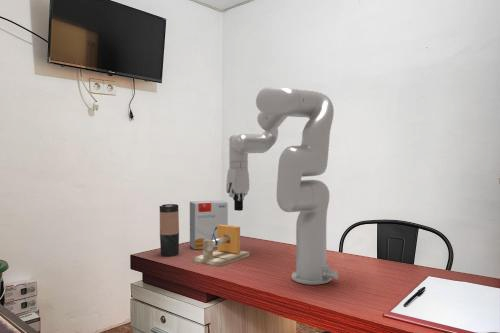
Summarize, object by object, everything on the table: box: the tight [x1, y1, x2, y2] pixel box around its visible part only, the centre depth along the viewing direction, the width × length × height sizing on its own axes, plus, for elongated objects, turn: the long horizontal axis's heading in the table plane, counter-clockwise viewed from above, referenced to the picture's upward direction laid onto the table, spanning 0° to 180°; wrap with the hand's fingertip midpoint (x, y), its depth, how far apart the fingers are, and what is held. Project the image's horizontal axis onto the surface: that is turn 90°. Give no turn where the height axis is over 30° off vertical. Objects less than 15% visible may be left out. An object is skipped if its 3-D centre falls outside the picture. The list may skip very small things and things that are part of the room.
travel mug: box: [159, 203, 180, 257], centre depth 157 cm, size 8×8×20 cm
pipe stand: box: [193, 239, 251, 267], centre depth 150 cm, size 13×18×8 cm
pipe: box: [213, 235, 230, 246], centre depth 150 cm, size 3×17×3 cm, turn 144°
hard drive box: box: [189, 199, 229, 250], centre depth 170 cm, size 16×8×20 cm, turn 113°
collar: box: [217, 224, 241, 253], centre depth 153 cm, size 10×2×10 cm, turn 54°
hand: (238, 210), depth 159 cm, fingers closed
